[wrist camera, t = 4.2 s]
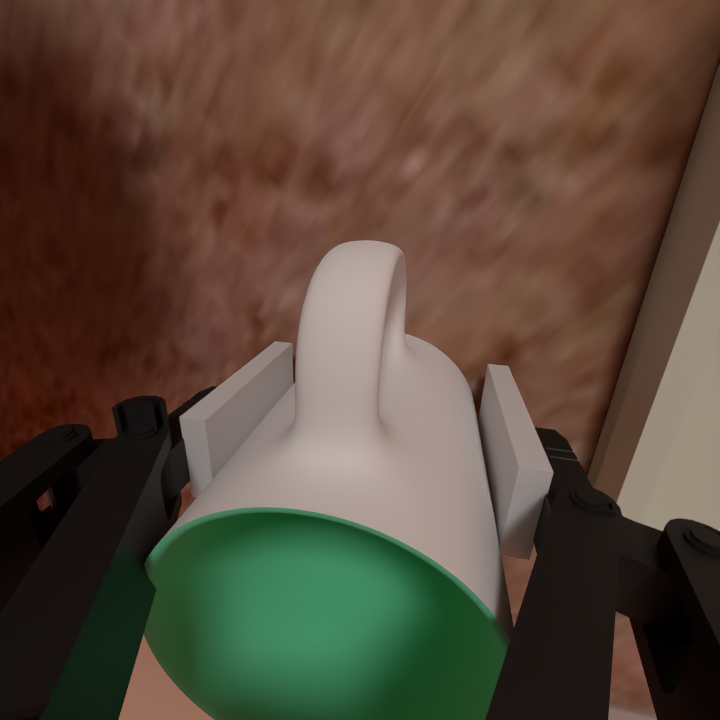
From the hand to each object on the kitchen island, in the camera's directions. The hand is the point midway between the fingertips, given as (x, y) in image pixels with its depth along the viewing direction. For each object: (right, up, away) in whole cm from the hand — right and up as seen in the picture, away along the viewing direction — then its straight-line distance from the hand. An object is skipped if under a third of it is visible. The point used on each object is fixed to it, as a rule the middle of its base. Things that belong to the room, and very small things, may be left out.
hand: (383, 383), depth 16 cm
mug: (0, 0, +1) cm, 1 cm away
